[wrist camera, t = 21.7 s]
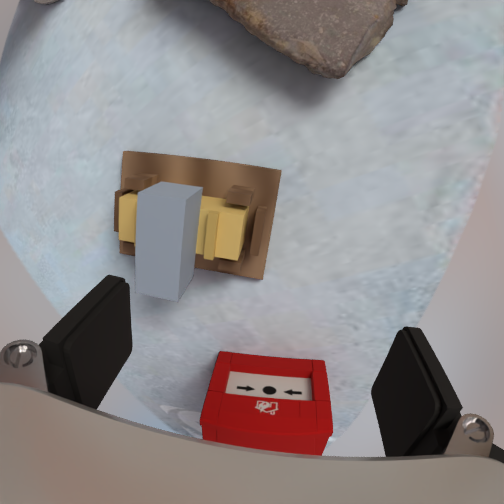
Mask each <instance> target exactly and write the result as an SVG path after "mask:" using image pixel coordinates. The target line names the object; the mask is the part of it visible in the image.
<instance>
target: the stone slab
mask: <svg viewBox="0 0 504 504" xmlns="http://www.w3.org/2000/svg"><path fill="white" fill-rule="evenodd" d="M209 1H210V2H211V3H212V4H213V5H215V6H219V7H221V8H222V9H223V10H226V11H227V13H228V14H229V16H230V17H231V18H233V19H234V20H235V21H237V22H239V23H241V24H243V25H244V27H245V28H246V30H247V31H248V32H249V33H251V34H252V35H255V36H257V37H258V38H259V39H260V40H261V41H263V42H265V43H266V44H267V45H269V46H271V47H273V48H274V49H275V50H277V51H278V52H281V53H283V54H284V55H286V56H288V57H290V58H291V59H292V60H293V61H295V62H296V63H298V64H302V65H305V66H306V67H307V68H308V70H309V71H310V72H311V73H313V74H321V75H322V76H323V77H326V78H336V79H339V78H342V77H344V76H345V75H346V73H347V72H348V71H349V70H350V68H351V67H352V66H353V65H354V64H355V63H356V62H357V61H359V60H360V59H361V58H363V57H365V56H366V55H368V54H370V53H371V51H373V49H374V47H375V46H376V45H377V44H378V43H379V42H380V41H381V39H382V38H383V37H384V36H385V34H386V32H387V31H388V29H389V28H390V27H391V26H392V25H393V14H394V9H396V7H397V6H396V4H398V5H401V6H405V5H407V2H408V0H209Z"/></svg>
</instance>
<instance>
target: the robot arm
mask: <svg viewBox="0 0 504 504" xmlns="http://www.w3.org/2000/svg"><path fill="white" fill-rule="evenodd" d="M34 1H35V2H37V3H40V4H50V3H54V2H56V1H58V0H34ZM131 351H132V331H131V313H130V287H129V284H128V283H126V282H125V279H124V278H121V277H117V276H113V275H107V276H106V277H105V278H104V279H103V280H102V281H101V282H100V283H99V284H98V285H96V286H95V287H94V288H93V289H92V290H91V291H90V292H89V293H88V294H87V295H86V296H85V297H84V298H83V299H82V300H81V301H80V302H79V303H77V304H76V305H75V306H74V307H73V308H72V309H71V310H70V311H69V312H68V313H67V314H66V315H65V316H64V317H63V318H62V319H61V320H60V321H59V322H58V323H57V324H56V325H55V326H54V327H53V328H52V329H51V330H50V331H49V332H48V333H47V334H46V335H45V336H44V337H43V341H42V342H41V343H40V344H39V345H38V344H37V343H35V342H33V341H30V340H17V341H13V342H11V343H9V344H7V345H6V346H5V347H4V348H3V349H2V350H1V352H0V504H504V450H503V449H501V448H499V447H498V446H496V445H494V444H493V439H494V432H493V429H492V427H491V425H490V424H489V422H487V420H486V419H484V418H482V417H481V416H479V415H476V414H465V415H463V416H461V414H460V411H461V409H462V408H463V407H462V405H461V403H460V401H459V399H458V397H457V395H456V393H455V391H454V389H453V387H452V385H451V383H450V381H449V379H448V377H447V375H446V374H445V372H444V370H443V368H442V366H441V364H440V362H439V361H438V359H437V357H436V355H435V353H434V351H433V350H432V348H431V346H430V344H429V342H428V341H427V339H426V337H425V335H424V333H423V332H422V330H421V329H420V328H415V327H404V328H403V329H402V330H399V331H398V333H397V335H396V337H395V339H394V341H393V344H392V346H391V348H390V350H389V353H388V355H387V357H386V359H385V361H384V363H383V366H382V368H381V370H380V372H379V374H378V376H377V378H376V380H375V382H374V384H373V386H372V390H371V395H372V399H373V403H374V407H375V412H376V415H377V420H378V424H379V428H380V433H381V437H382V441H383V446H384V450H385V455H386V457H339V456H320V455H306V454H294V453H284V452H275V451H267V450H260V449H253V448H246V447H240V446H234V445H228V444H223V443H218V442H212V441H207V440H203V439H198V438H193V437H189V436H185V435H180V434H176V433H172V432H168V431H164V430H161V429H156V428H153V427H149V426H146V425H143V424H139V423H136V422H132V421H129V420H126V419H123V418H120V417H117V416H114V415H111V414H108V413H105V412H102V411H99V410H97V408H98V406H99V405H100V403H101V401H102V400H103V398H104V396H105V395H106V393H107V391H108V390H109V388H110V386H111V385H112V383H113V381H114V380H115V378H116V377H117V375H118V373H119V372H120V370H121V369H122V367H123V365H124V364H125V362H126V361H127V359H128V357H129V356H130V354H131Z"/></svg>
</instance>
